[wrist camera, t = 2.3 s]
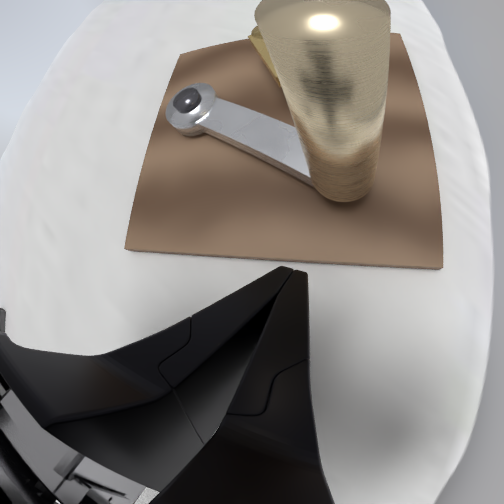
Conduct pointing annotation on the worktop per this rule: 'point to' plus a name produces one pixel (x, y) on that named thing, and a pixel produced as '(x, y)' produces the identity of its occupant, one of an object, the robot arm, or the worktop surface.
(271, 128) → the beige lever tool
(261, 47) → the plate
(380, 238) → the walnut board
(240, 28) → the worktop surface
